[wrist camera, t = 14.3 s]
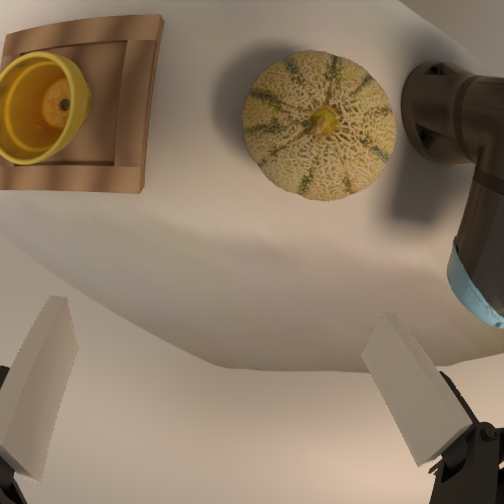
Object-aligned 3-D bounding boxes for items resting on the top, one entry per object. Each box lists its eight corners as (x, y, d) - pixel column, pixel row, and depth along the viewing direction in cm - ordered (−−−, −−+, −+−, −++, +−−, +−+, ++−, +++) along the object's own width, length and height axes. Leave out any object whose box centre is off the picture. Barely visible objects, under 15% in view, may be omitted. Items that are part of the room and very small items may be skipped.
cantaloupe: (362, 165, 37) (434, 203, 24) (253, 192, 37) (281, 249, 24) (341, 53, 30) (415, 36, 17) (220, 74, 30) (231, 53, 17)
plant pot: (120, 125, 30) (89, 136, 21) (47, 160, 29) (3, 183, 21) (96, 45, 25) (60, 29, 16) (24, 86, 24) (-24, 88, 16)
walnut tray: (164, 21, 26) (160, 14, 23) (144, 186, 35) (139, 193, 32) (18, 37, 22) (6, 34, 19) (9, 183, 31) (-2, 190, 28)
